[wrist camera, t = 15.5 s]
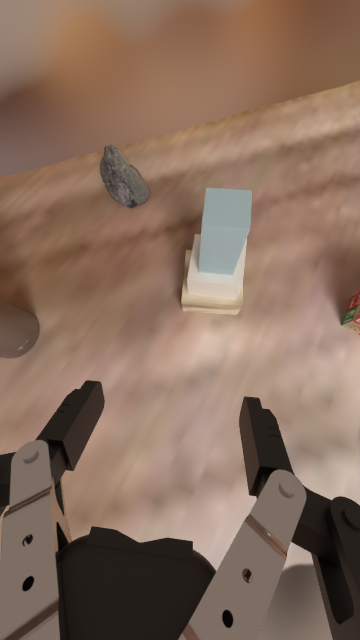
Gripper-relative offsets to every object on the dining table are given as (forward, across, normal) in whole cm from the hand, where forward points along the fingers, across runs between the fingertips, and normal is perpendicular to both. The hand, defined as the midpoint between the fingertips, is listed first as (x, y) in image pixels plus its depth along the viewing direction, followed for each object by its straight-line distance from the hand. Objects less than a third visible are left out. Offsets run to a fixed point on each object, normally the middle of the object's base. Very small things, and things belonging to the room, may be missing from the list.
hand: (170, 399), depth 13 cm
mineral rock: (+49, +17, -12) cm, 54 cm away
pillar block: (+26, -3, -2) cm, 26 cm away
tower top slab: (+29, -4, +2) cm, 29 cm away
